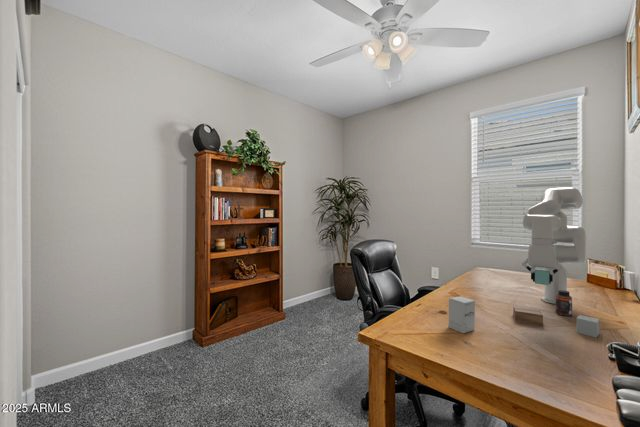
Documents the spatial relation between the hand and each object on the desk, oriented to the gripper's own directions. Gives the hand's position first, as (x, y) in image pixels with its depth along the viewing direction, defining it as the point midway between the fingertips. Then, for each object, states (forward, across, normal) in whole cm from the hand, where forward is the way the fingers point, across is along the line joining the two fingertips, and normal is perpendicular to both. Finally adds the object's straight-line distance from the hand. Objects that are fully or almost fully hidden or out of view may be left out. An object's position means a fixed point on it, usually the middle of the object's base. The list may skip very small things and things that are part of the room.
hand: (541, 281), depth 127 cm
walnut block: (+18, +5, +2) cm, 19 cm away
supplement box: (+19, +28, +31) cm, 46 cm away
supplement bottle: (+18, -10, -18) cm, 27 cm away
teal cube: (+1, 0, 0) cm, 1 cm away
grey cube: (+18, -15, +4) cm, 24 cm away
